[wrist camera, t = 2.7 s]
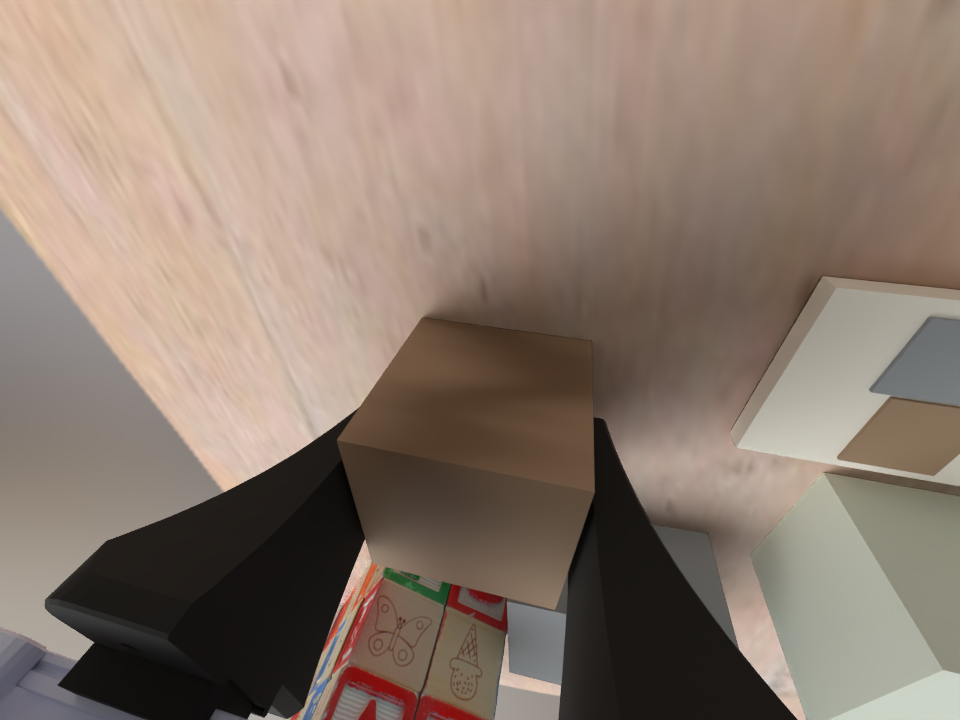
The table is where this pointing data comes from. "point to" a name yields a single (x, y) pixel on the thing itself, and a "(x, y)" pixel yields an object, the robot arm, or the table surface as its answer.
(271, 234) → the table surface
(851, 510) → the sage block
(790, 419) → the card
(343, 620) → the stack of blocks
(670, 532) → the slate block
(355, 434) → the walnut block
